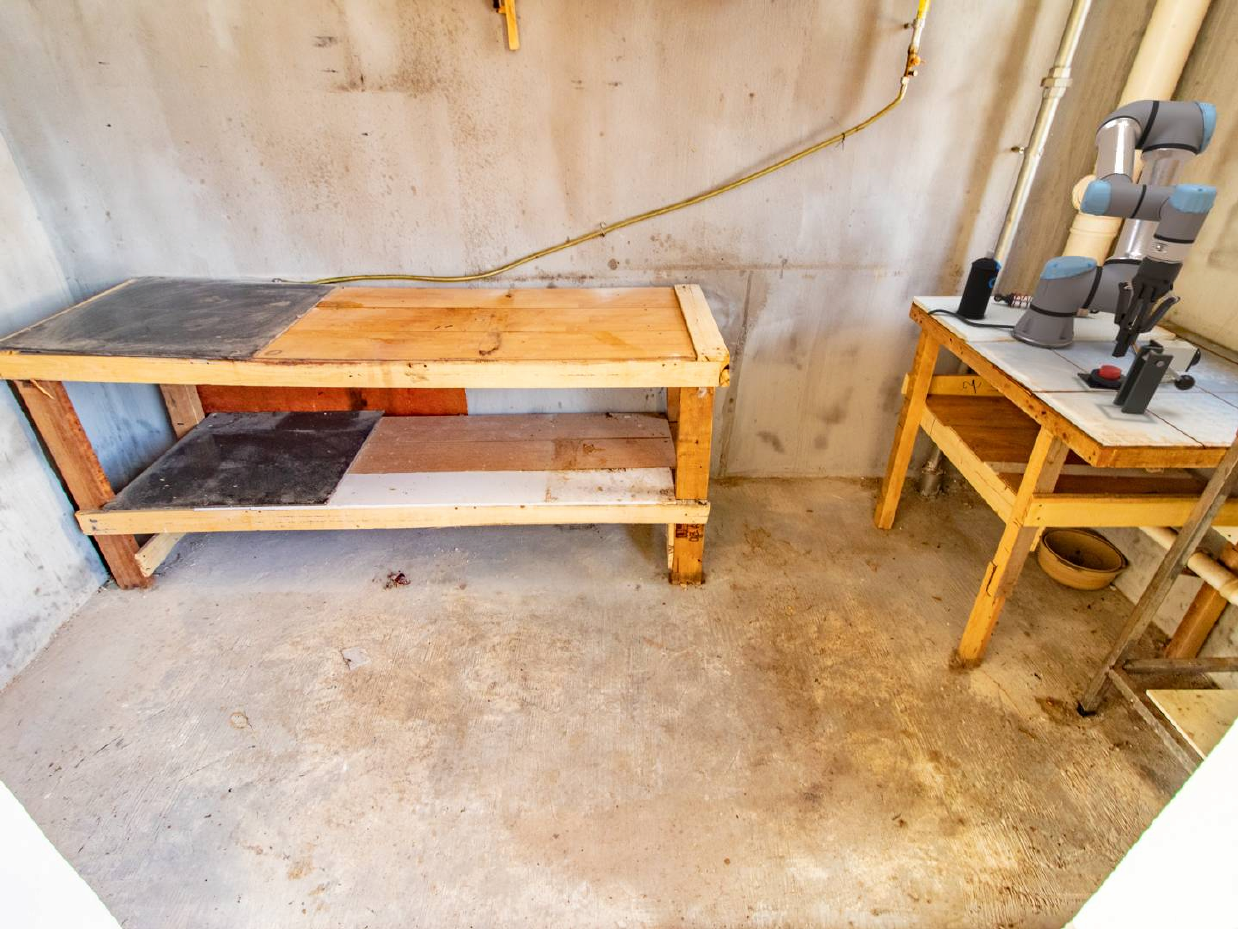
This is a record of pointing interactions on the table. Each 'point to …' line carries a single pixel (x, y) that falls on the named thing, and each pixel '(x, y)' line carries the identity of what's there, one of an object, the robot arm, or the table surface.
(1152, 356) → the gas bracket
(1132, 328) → the robot arm
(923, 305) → the table surface
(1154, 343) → the pneumatic valve
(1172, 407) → the table surface
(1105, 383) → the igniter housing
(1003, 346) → the table surface
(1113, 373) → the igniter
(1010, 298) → the shock absorber
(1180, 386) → the lever
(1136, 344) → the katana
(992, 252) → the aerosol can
